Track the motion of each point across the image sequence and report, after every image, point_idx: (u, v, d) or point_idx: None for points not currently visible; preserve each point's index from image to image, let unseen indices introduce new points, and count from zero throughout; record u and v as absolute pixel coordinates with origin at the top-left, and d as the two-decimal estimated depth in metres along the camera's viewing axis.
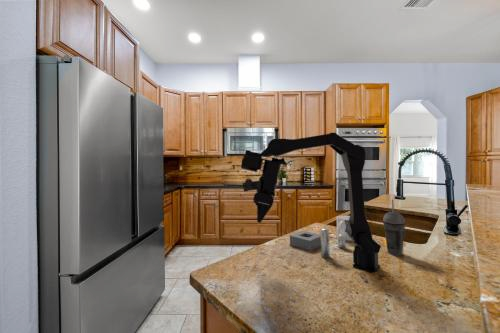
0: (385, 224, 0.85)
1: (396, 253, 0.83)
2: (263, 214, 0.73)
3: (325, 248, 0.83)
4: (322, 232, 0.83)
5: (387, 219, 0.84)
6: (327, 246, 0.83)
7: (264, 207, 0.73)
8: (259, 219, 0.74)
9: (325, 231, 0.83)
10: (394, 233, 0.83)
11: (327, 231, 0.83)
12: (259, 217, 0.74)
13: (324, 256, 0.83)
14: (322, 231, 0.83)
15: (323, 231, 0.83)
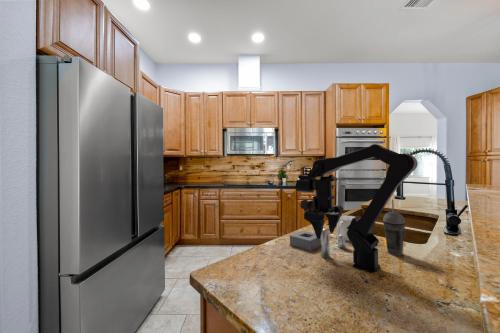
0: (385, 224, 0.85)
1: (396, 253, 0.83)
2: (319, 230, 0.80)
3: (325, 248, 0.83)
4: (322, 232, 0.83)
5: (387, 219, 0.84)
6: (327, 246, 0.83)
7: (318, 224, 0.80)
8: (317, 235, 0.81)
9: (325, 231, 0.83)
10: (394, 233, 0.83)
11: (327, 231, 0.83)
12: (317, 233, 0.81)
13: (324, 256, 0.83)
14: (322, 231, 0.83)
15: (323, 231, 0.83)
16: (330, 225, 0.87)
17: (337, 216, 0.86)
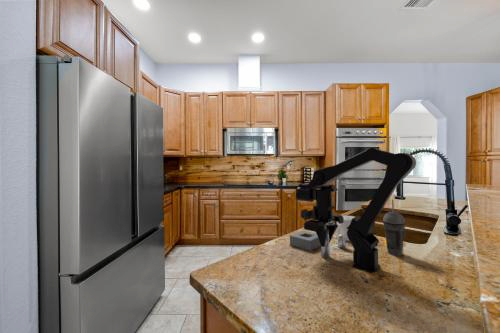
0: (385, 224, 0.85)
1: (396, 253, 0.83)
2: (323, 239, 0.82)
3: (325, 248, 0.83)
4: None
5: (387, 219, 0.84)
6: (327, 246, 0.83)
7: (322, 232, 0.82)
8: (322, 243, 0.83)
9: None
10: (394, 233, 0.83)
11: None
12: (321, 241, 0.83)
13: (324, 256, 0.83)
14: None
15: None
16: None
17: (333, 227, 0.84)
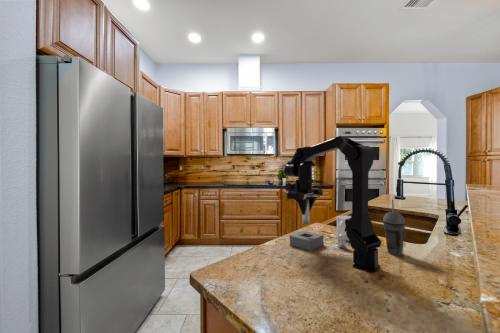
0: (385, 224, 0.85)
1: (396, 253, 0.83)
2: (304, 207, 0.94)
3: (305, 216, 0.95)
4: None
5: (387, 219, 0.84)
6: (307, 214, 0.95)
7: (303, 202, 0.94)
8: (302, 211, 0.95)
9: None
10: (394, 233, 0.83)
11: None
12: (302, 210, 0.95)
13: (304, 222, 0.96)
14: None
15: None
16: None
17: (313, 198, 0.97)
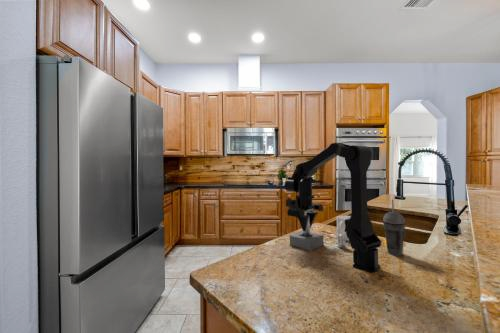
0: (385, 224, 0.85)
1: (396, 253, 0.83)
2: (304, 224, 0.94)
3: (306, 232, 0.95)
4: None
5: (387, 219, 0.84)
6: (308, 230, 0.96)
7: (303, 218, 0.94)
8: (303, 228, 0.95)
9: None
10: (394, 233, 0.83)
11: None
12: (302, 226, 0.95)
13: None
14: None
15: None
16: None
17: (313, 214, 0.97)
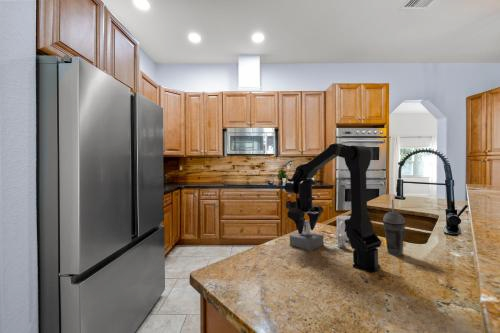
0: (385, 224, 0.85)
1: (396, 253, 0.83)
2: (300, 227, 0.93)
3: None
4: None
5: (387, 219, 0.84)
6: (308, 236, 0.96)
7: (299, 221, 0.93)
8: (299, 231, 0.94)
9: (306, 223, 0.96)
10: (394, 233, 0.83)
11: (308, 223, 0.96)
12: (299, 229, 0.94)
13: None
14: None
15: (304, 223, 0.96)
16: (311, 223, 1.00)
17: (317, 215, 0.99)
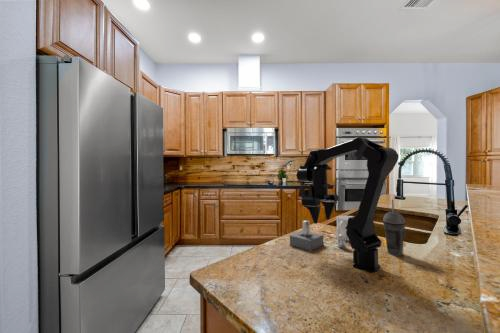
0: (385, 224, 0.85)
1: (396, 253, 0.83)
2: (316, 215, 0.86)
3: None
4: (303, 224, 0.96)
5: (387, 219, 0.84)
6: (308, 236, 0.96)
7: (314, 209, 0.86)
8: (314, 220, 0.87)
9: (306, 223, 0.96)
10: (394, 233, 0.83)
11: (308, 223, 0.96)
12: (314, 218, 0.87)
13: None
14: (303, 223, 0.96)
15: (304, 223, 0.96)
16: (326, 212, 0.93)
17: (333, 203, 0.92)
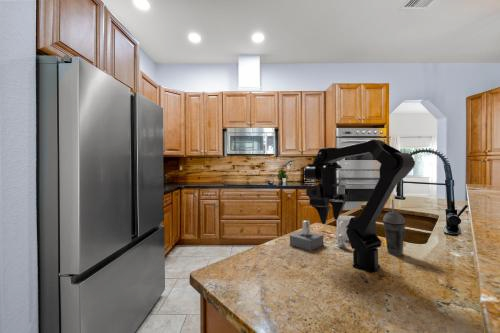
0: (385, 224, 0.85)
1: (396, 253, 0.83)
2: (324, 216, 0.82)
3: None
4: (303, 224, 0.96)
5: (387, 219, 0.84)
6: (308, 236, 0.96)
7: (323, 209, 0.82)
8: (322, 221, 0.83)
9: (306, 223, 0.96)
10: (394, 233, 0.83)
11: (308, 223, 0.96)
12: (322, 219, 0.83)
13: None
14: (303, 223, 0.96)
15: (304, 223, 0.96)
16: (334, 212, 0.90)
17: (341, 203, 0.89)
